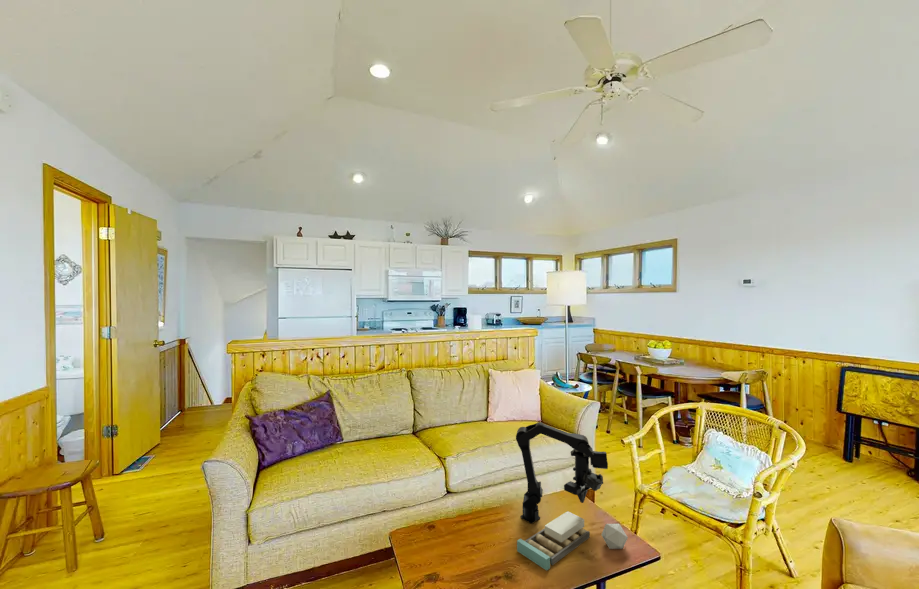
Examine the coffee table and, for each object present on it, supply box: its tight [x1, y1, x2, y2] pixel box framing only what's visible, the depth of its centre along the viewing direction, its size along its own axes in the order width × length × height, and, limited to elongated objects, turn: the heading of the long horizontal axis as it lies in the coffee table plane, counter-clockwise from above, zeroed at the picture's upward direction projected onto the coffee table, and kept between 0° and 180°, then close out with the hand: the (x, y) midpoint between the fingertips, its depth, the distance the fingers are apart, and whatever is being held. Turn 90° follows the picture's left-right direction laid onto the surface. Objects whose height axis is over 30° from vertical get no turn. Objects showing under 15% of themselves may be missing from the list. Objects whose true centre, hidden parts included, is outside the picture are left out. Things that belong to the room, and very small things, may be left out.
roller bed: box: [524, 527, 591, 566], centre depth 153 cm, size 13×25×3 cm, turn 130°
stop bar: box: [516, 538, 551, 572], centre depth 143 cm, size 14×2×4 cm, turn 40°
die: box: [600, 523, 629, 550], centre depth 151 cm, size 8×9×10 cm
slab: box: [544, 511, 585, 543], centre depth 156 cm, size 8×16×3 cm, turn 130°
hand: (582, 502), depth 165 cm, fingers closed
